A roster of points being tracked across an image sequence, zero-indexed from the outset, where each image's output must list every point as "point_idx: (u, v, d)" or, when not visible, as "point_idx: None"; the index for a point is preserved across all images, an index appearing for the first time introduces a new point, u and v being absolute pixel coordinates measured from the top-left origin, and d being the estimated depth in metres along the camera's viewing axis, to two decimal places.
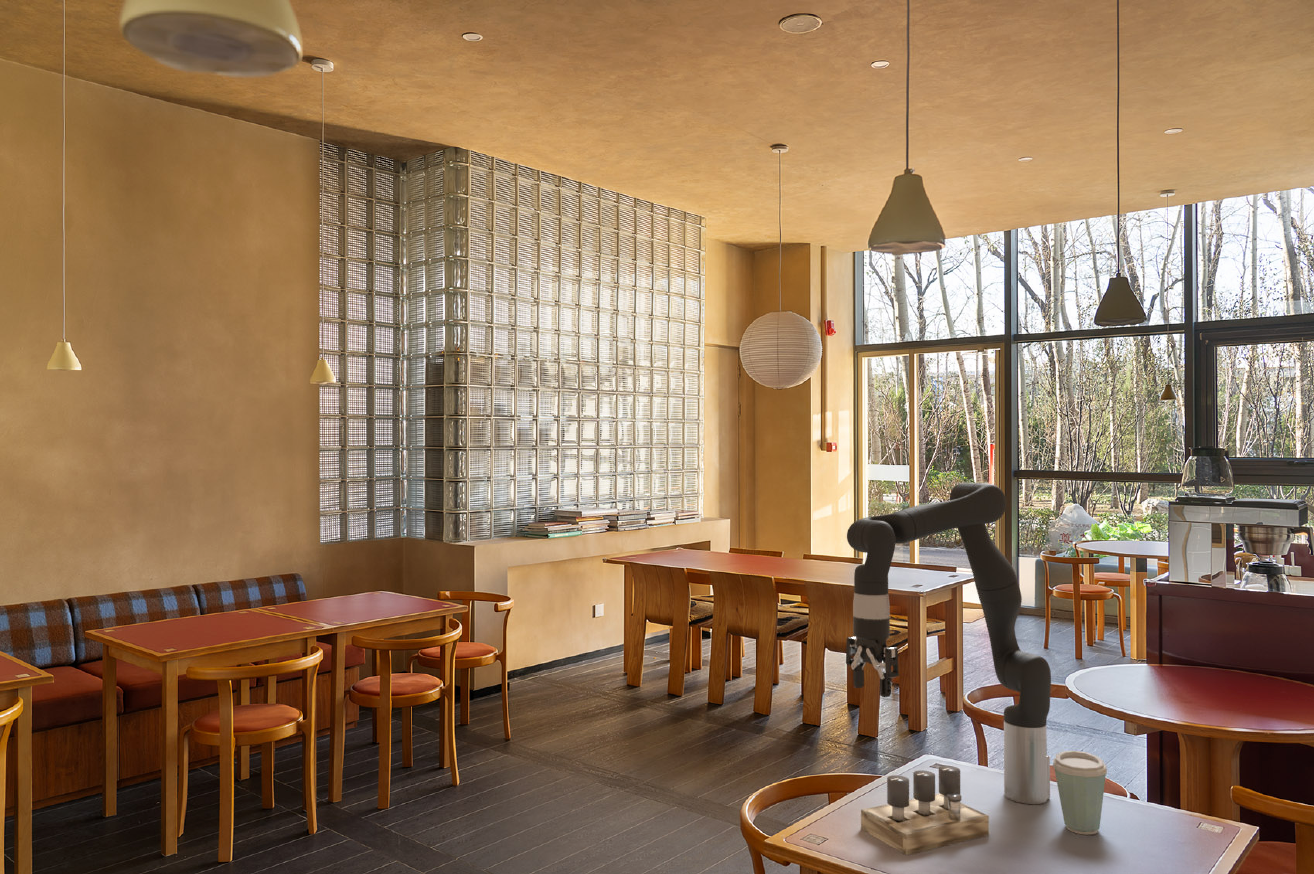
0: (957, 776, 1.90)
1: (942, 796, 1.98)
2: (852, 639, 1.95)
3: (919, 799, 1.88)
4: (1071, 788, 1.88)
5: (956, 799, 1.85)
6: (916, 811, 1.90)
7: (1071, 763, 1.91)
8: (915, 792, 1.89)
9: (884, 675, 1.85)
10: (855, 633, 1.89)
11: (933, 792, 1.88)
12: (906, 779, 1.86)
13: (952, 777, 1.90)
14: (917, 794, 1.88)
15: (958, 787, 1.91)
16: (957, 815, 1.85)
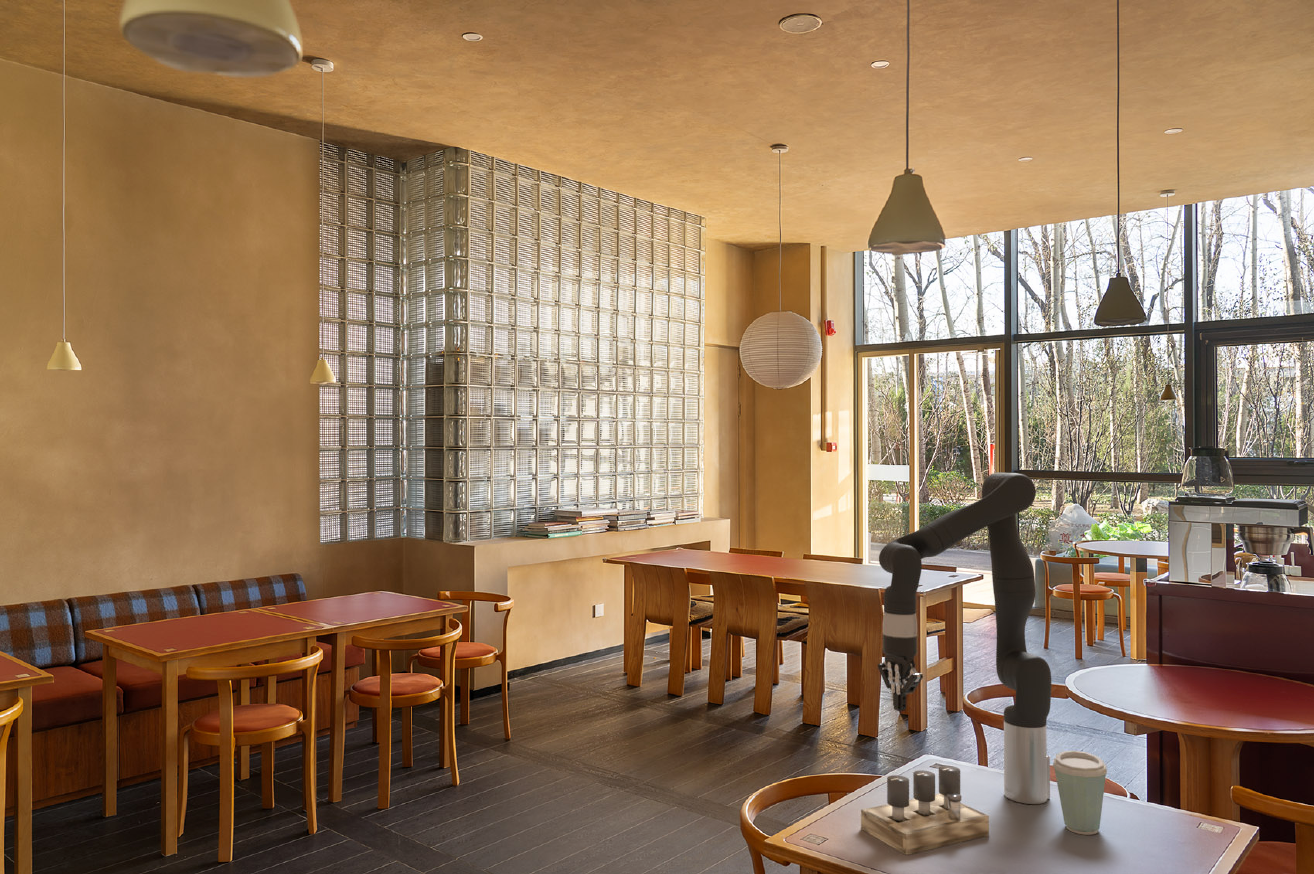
0: (957, 776, 1.90)
1: (942, 796, 1.98)
2: (882, 663, 2.07)
3: (919, 799, 1.88)
4: (1072, 788, 1.88)
5: (956, 799, 1.85)
6: (916, 811, 1.90)
7: (1071, 763, 1.91)
8: (915, 792, 1.89)
9: (900, 691, 2.01)
10: (884, 650, 2.02)
11: (933, 792, 1.88)
12: (906, 779, 1.86)
13: (952, 777, 1.90)
14: (917, 794, 1.88)
15: (958, 787, 1.91)
16: (957, 815, 1.85)
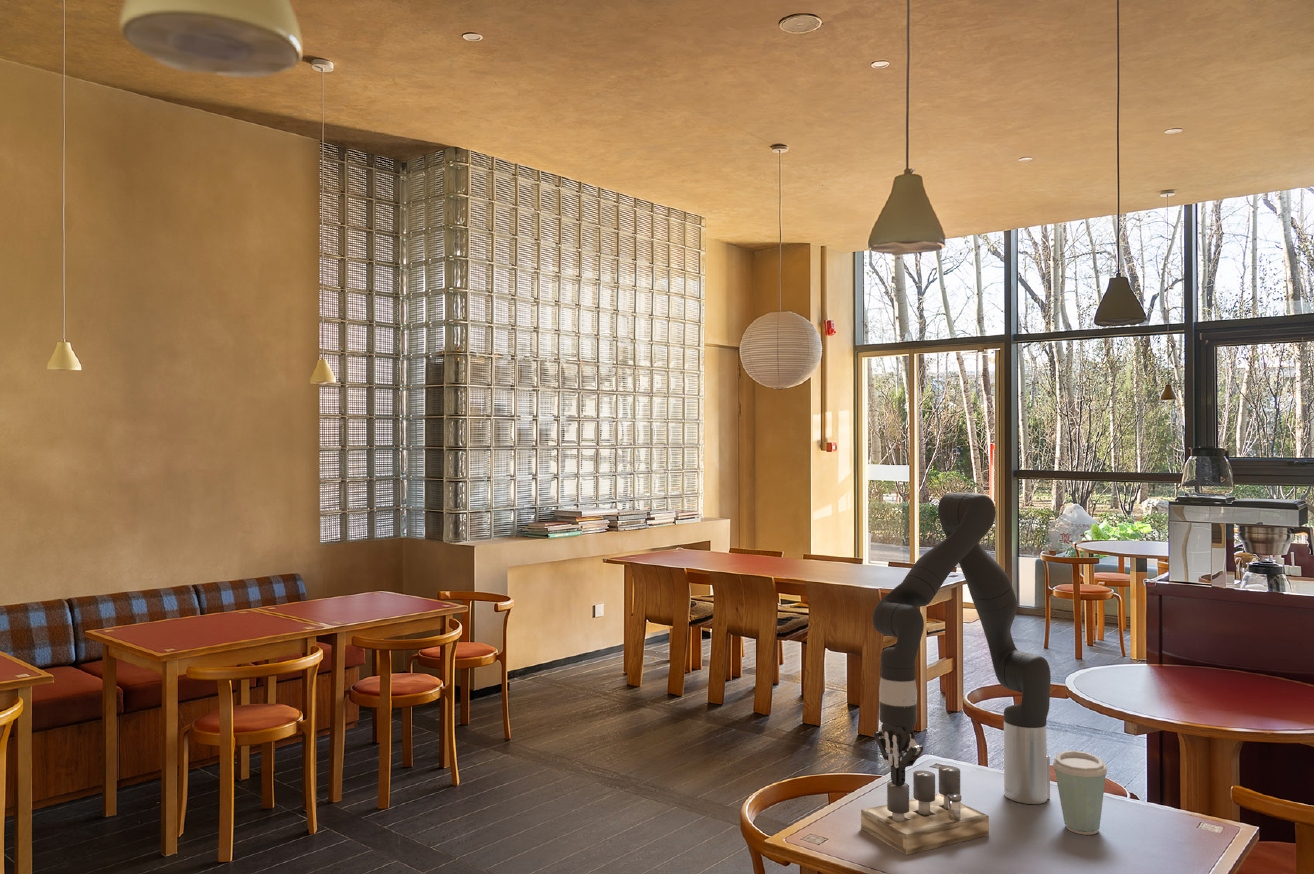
0: (957, 776, 1.90)
1: (942, 796, 1.98)
2: (879, 732, 1.91)
3: (919, 799, 1.88)
4: (1072, 788, 1.88)
5: (956, 799, 1.85)
6: (916, 811, 1.90)
7: (1071, 763, 1.91)
8: (915, 792, 1.89)
9: (898, 764, 1.85)
10: (881, 719, 1.86)
11: (933, 792, 1.88)
12: (906, 785, 1.86)
13: (952, 777, 1.90)
14: (917, 794, 1.88)
15: (958, 787, 1.91)
16: (957, 815, 1.85)
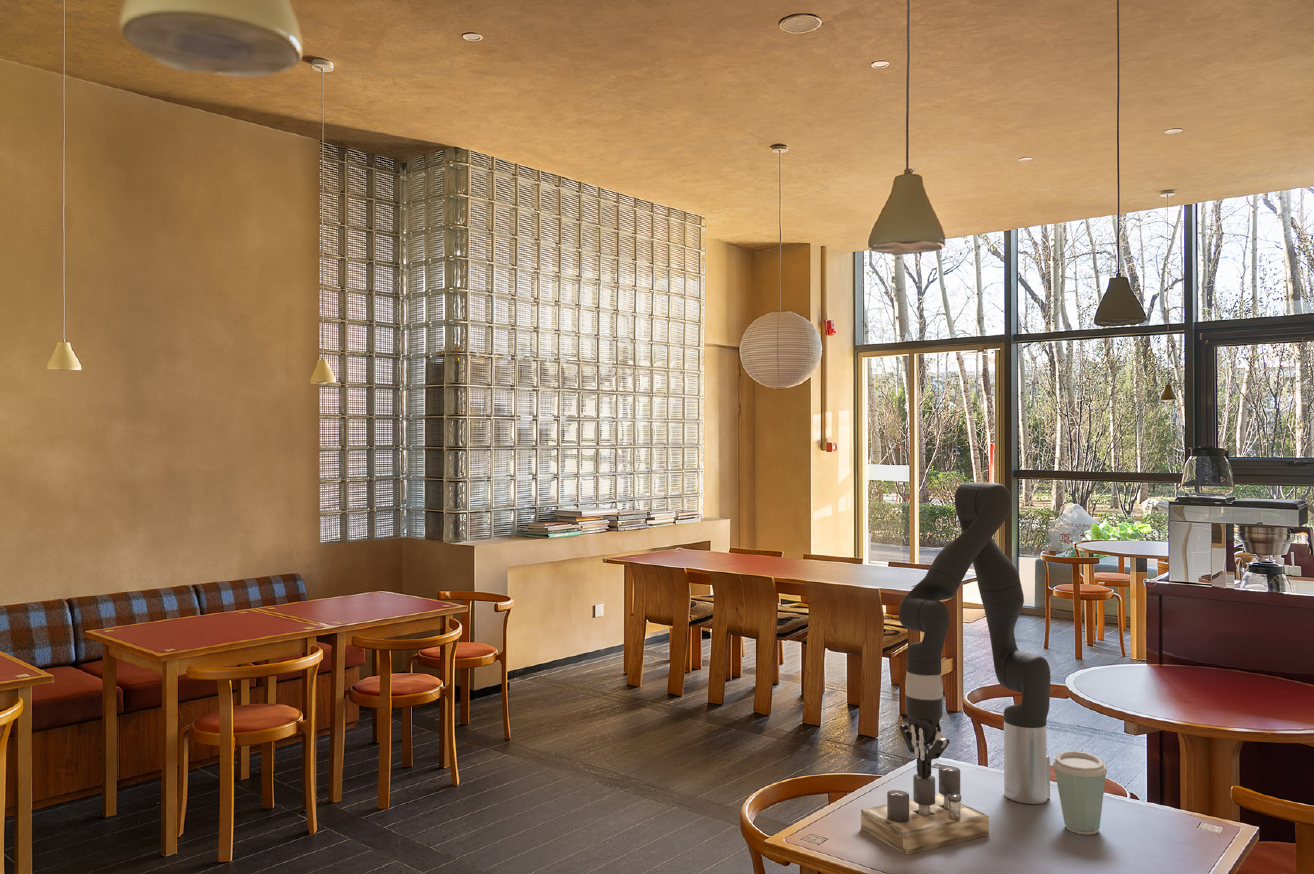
0: (957, 776, 1.90)
1: (942, 796, 1.98)
2: (904, 725, 1.94)
3: (919, 802, 1.88)
4: (1071, 788, 1.88)
5: (956, 799, 1.85)
6: (916, 811, 1.90)
7: (1071, 763, 1.91)
8: (915, 795, 1.89)
9: (924, 757, 1.88)
10: (908, 712, 1.89)
11: (933, 795, 1.88)
12: (906, 794, 1.86)
13: (952, 777, 1.90)
14: (917, 798, 1.88)
15: (958, 787, 1.91)
16: (957, 815, 1.85)
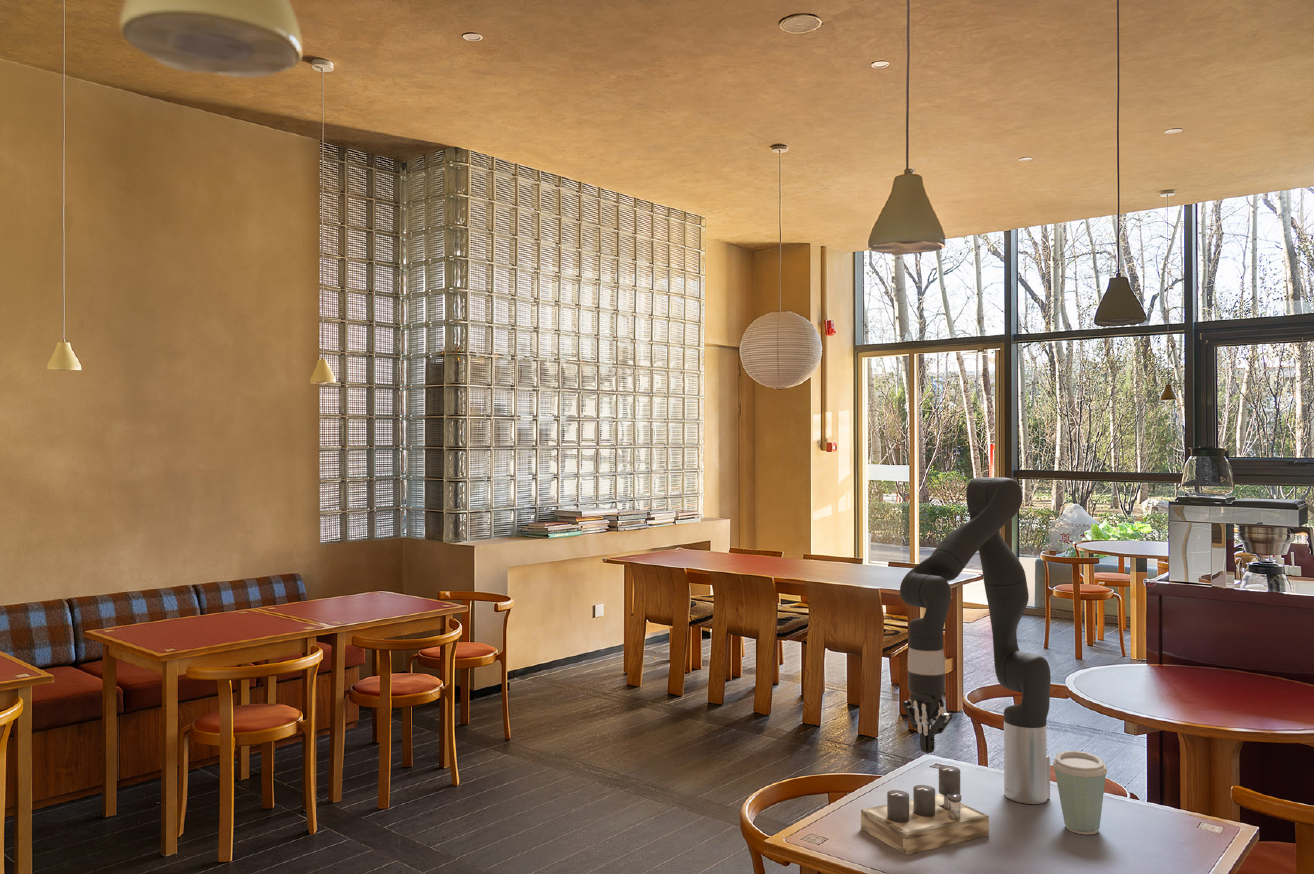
0: (957, 776, 1.90)
1: (942, 796, 1.98)
2: (907, 701, 1.95)
3: (919, 814, 1.88)
4: (1071, 788, 1.88)
5: (956, 799, 1.85)
6: None
7: (1071, 763, 1.91)
8: (915, 807, 1.88)
9: (927, 732, 1.88)
10: (910, 688, 1.89)
11: (933, 807, 1.88)
12: (906, 794, 1.86)
13: (952, 777, 1.90)
14: (917, 809, 1.88)
15: (958, 787, 1.91)
16: (957, 815, 1.85)
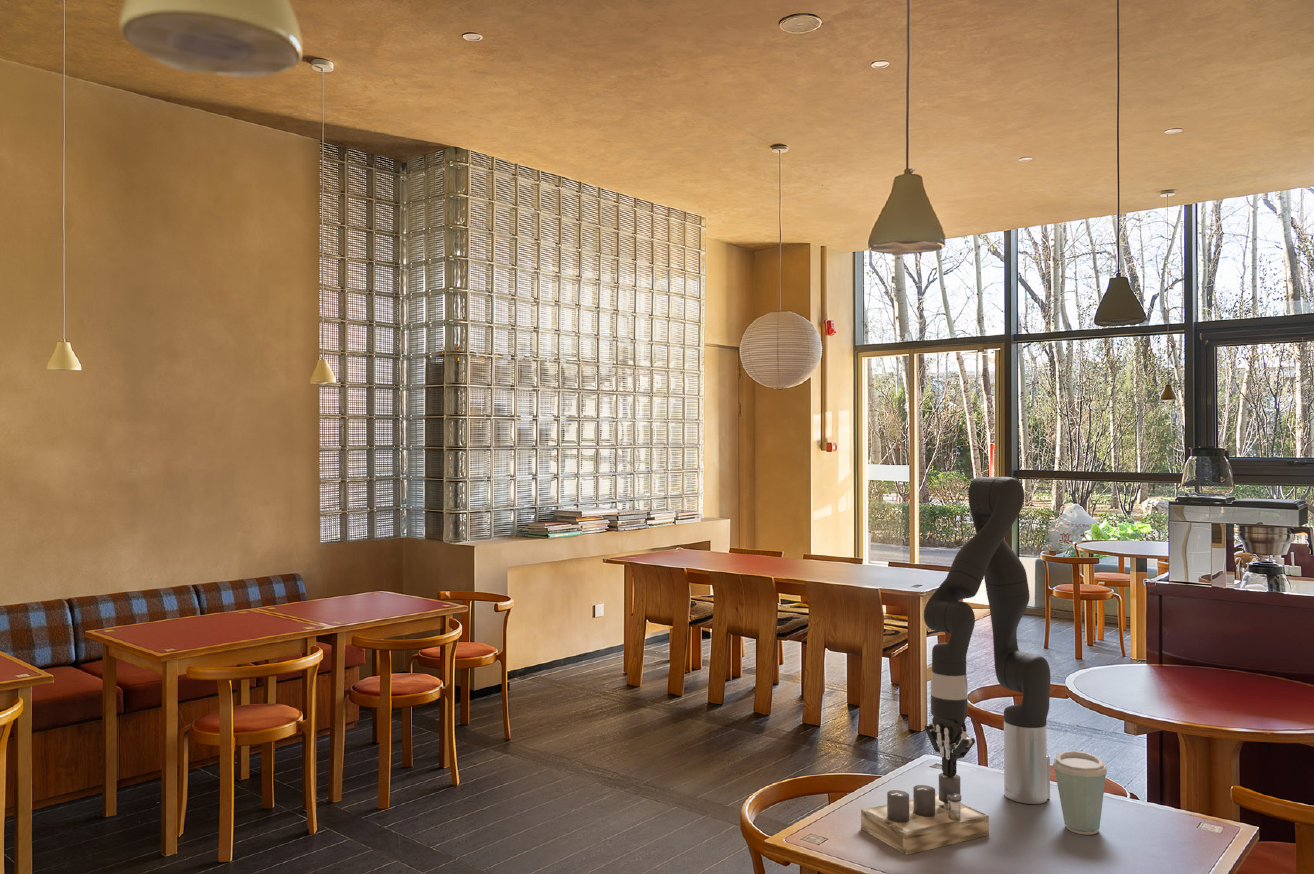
0: (957, 783, 1.90)
1: None
2: (929, 725, 1.97)
3: (919, 814, 1.88)
4: (1072, 788, 1.88)
5: (956, 799, 1.85)
6: None
7: (1071, 763, 1.91)
8: (915, 807, 1.88)
9: (950, 756, 1.91)
10: (933, 712, 1.92)
11: (933, 807, 1.88)
12: (906, 794, 1.86)
13: (952, 784, 1.90)
14: (917, 809, 1.88)
15: None
16: (957, 815, 1.85)
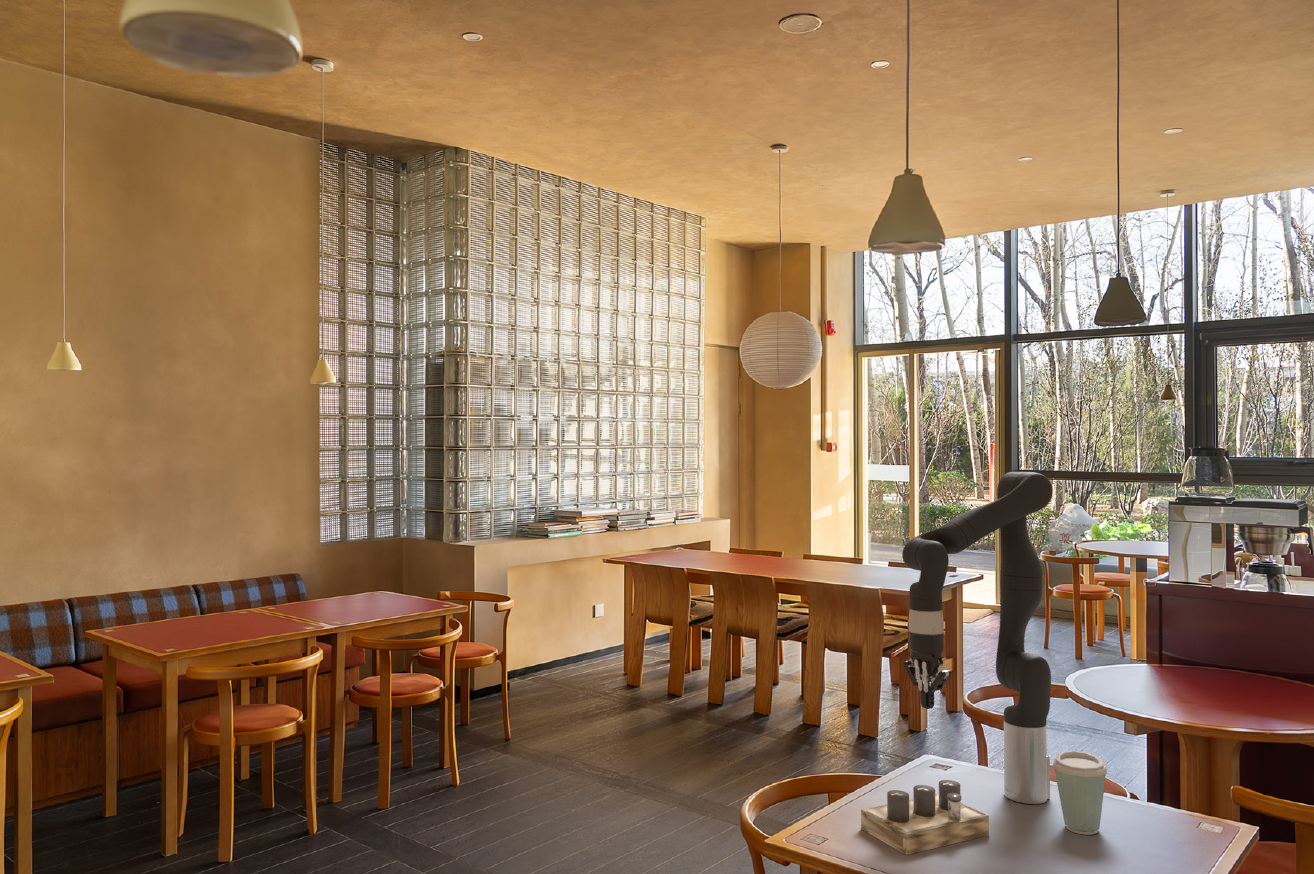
0: (957, 791, 1.90)
1: None
2: (908, 661, 2.05)
3: (919, 814, 1.88)
4: (1072, 788, 1.88)
5: (956, 799, 1.85)
6: None
7: (1071, 763, 1.91)
8: (915, 807, 1.88)
9: (928, 688, 1.99)
10: (911, 647, 1.99)
11: (933, 807, 1.88)
12: (906, 794, 1.86)
13: (952, 791, 1.90)
14: (917, 809, 1.88)
15: None
16: (957, 815, 1.85)
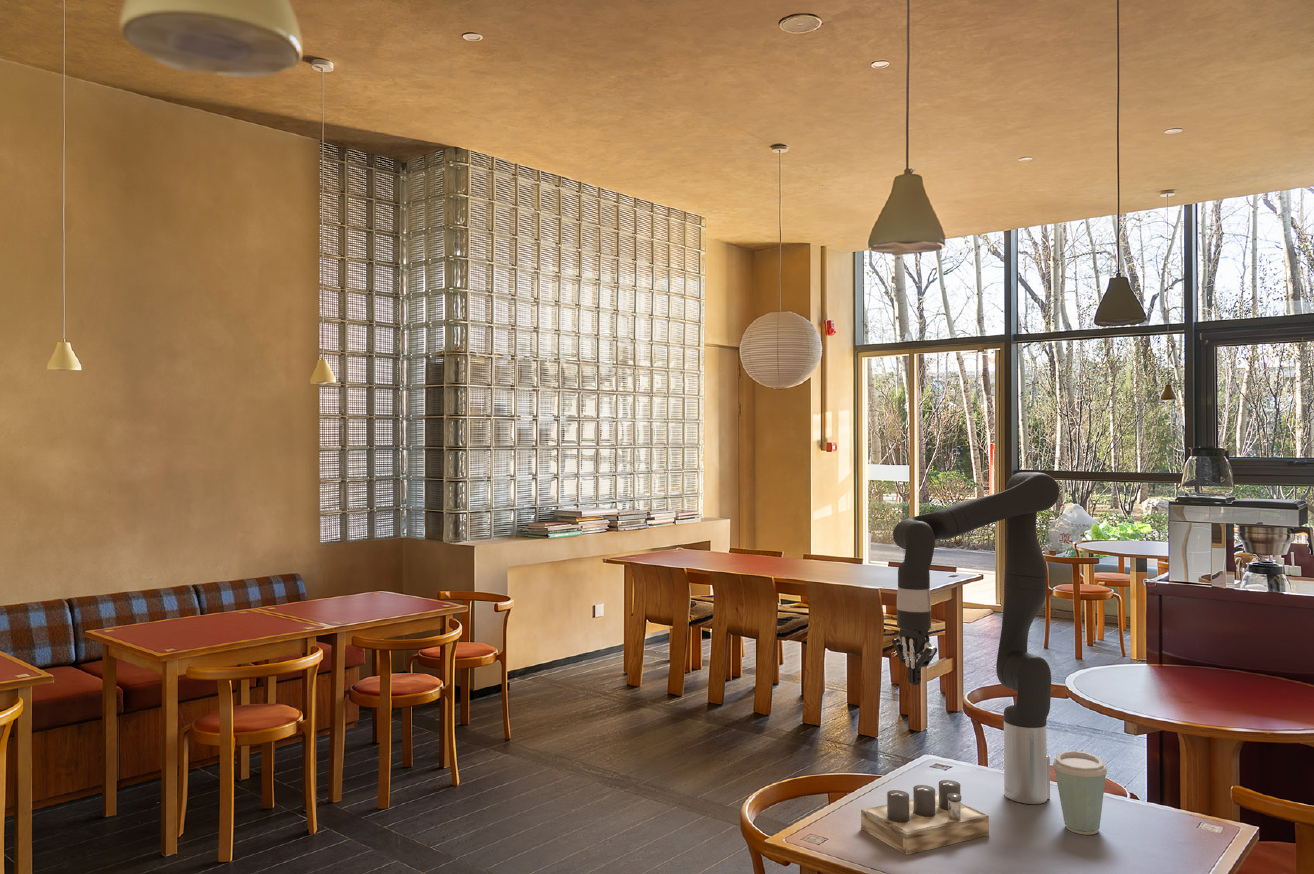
0: (957, 791, 1.90)
1: None
2: (896, 639, 2.10)
3: (919, 814, 1.88)
4: (1072, 788, 1.88)
5: (956, 799, 1.85)
6: None
7: (1071, 763, 1.91)
8: (915, 807, 1.88)
9: (914, 665, 2.04)
10: (899, 625, 2.05)
11: (933, 807, 1.88)
12: (906, 794, 1.86)
13: (952, 791, 1.90)
14: (917, 809, 1.88)
15: None
16: (957, 815, 1.85)
